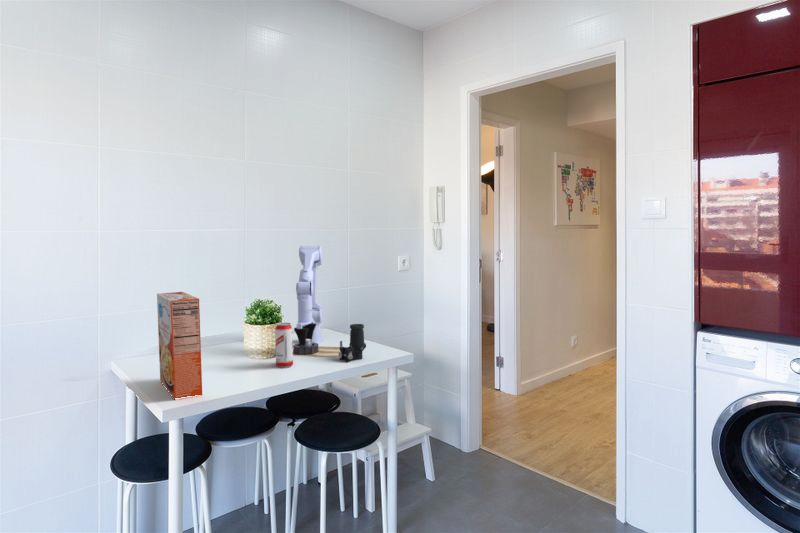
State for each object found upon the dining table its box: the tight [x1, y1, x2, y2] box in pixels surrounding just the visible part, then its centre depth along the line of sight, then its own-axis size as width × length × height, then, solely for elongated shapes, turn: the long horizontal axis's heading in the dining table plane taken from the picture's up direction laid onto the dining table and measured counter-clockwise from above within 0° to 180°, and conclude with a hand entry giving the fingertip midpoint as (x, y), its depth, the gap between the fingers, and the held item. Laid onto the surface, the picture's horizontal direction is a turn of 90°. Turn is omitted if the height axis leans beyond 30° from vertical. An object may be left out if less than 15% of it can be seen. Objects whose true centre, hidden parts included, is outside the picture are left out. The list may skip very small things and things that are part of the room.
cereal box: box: [156, 291, 203, 399], centre depth 161 cm, size 23×8×30 cm, turn 35°
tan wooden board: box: [293, 345, 341, 359], centre depth 208 cm, size 18×24×1 cm
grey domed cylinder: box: [300, 339, 312, 347], centre depth 207 cm, size 5×5×5 cm
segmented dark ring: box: [293, 342, 319, 355], centre depth 207 cm, size 10×10×3 cm
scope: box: [339, 323, 367, 363], centre depth 195 cm, size 8×14×10 cm
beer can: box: [274, 322, 294, 369], centre depth 188 cm, size 6×6×16 cm
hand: (305, 342), depth 207 cm, fingers open, 7 cm apart
